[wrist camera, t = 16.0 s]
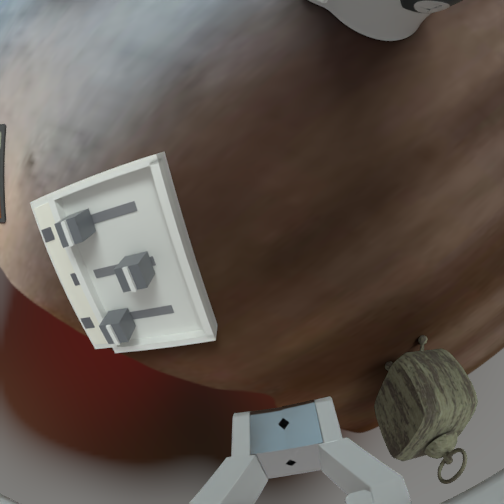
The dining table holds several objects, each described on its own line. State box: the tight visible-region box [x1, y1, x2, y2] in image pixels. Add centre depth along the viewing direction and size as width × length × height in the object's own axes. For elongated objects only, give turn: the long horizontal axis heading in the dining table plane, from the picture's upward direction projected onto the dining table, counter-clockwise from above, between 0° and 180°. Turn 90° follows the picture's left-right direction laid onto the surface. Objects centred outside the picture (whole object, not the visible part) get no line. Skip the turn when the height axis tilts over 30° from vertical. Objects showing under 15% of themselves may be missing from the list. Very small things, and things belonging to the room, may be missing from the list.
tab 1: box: [54, 208, 96, 248], centre depth 32 cm, size 3×3×4 cm
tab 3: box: [99, 308, 136, 345], centre depth 37 cm, size 3×3×4 cm
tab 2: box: [114, 251, 155, 292], centre depth 34 cm, size 3×3×4 cm
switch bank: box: [30, 151, 218, 353], centre depth 37 cm, size 24×20×4 cm
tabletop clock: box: [374, 335, 478, 484], centre depth 35 cm, size 14×9×25 cm, turn 176°
